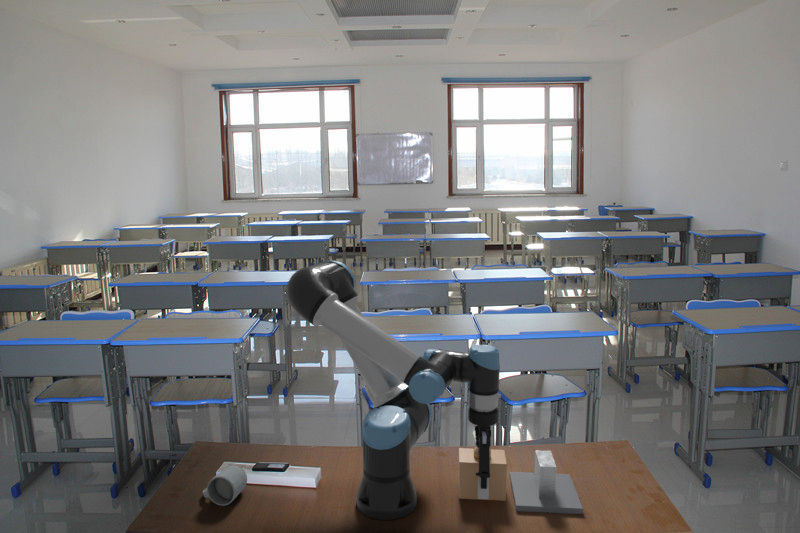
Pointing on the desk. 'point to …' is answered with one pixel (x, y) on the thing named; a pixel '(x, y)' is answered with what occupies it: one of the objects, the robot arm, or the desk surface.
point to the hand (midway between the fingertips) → (481, 483)
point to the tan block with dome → (471, 467)
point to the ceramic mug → (226, 485)
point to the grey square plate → (544, 488)
